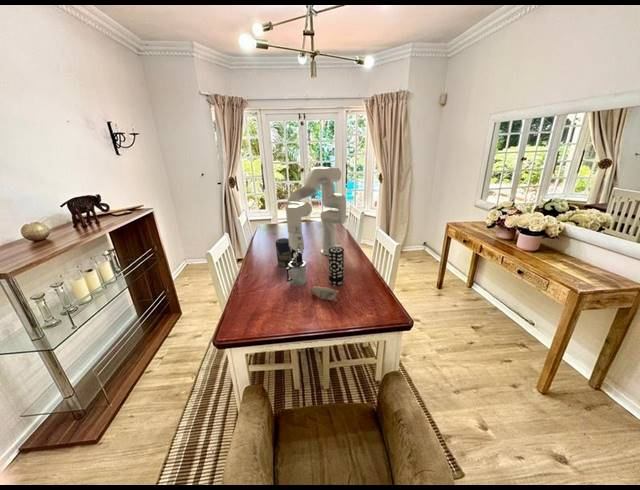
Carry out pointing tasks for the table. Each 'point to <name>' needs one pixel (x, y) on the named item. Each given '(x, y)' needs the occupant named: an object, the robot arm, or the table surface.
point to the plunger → (295, 259)
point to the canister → (283, 252)
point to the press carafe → (296, 273)
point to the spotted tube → (336, 266)
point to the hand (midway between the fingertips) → (296, 259)
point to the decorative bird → (325, 293)
